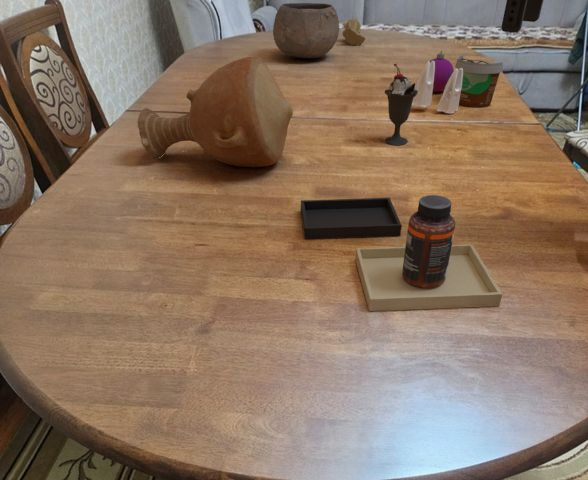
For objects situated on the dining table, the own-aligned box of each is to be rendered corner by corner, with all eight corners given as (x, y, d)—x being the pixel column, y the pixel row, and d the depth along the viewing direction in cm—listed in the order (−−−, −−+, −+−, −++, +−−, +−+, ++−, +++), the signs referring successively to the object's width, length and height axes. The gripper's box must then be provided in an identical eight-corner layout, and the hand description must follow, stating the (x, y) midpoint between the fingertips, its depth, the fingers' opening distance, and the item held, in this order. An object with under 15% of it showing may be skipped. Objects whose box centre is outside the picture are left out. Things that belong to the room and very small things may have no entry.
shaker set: (407, 112, 133) (413, 62, 126) (408, 107, 136) (414, 58, 129) (457, 115, 131) (466, 64, 124) (457, 110, 134) (466, 60, 127)
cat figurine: (345, 27, 186) (343, 10, 192) (338, 47, 191) (336, 30, 198) (367, 34, 188) (365, 17, 194) (360, 54, 193) (357, 37, 200)
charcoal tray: (388, 208, 93) (389, 197, 92) (400, 236, 85) (401, 225, 84) (300, 210, 93) (300, 200, 91) (304, 239, 85) (304, 228, 84)
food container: (439, 101, 140) (446, 58, 133) (454, 96, 143) (461, 54, 136) (480, 112, 133) (489, 67, 126) (495, 107, 136) (504, 62, 129)
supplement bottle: (453, 278, 75) (470, 201, 68) (428, 295, 72) (442, 216, 65) (418, 262, 79) (429, 187, 71) (392, 278, 75) (402, 201, 68)
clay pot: (269, 52, 184) (267, 0, 175) (329, 49, 187) (331, -3, 178) (279, 67, 169) (278, 11, 159) (345, 64, 171) (347, 8, 162)
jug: (278, 126, 90) (112, 140, 96) (300, 186, 108) (159, 194, 114) (285, 25, 94) (126, 44, 101) (305, 99, 112) (169, 111, 119)
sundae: (378, 136, 120) (385, 60, 111) (409, 136, 120) (418, 60, 111) (381, 146, 115) (388, 69, 106) (413, 146, 115) (423, 68, 106)
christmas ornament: (422, 86, 151) (427, 45, 144) (452, 88, 149) (459, 47, 142) (417, 94, 145) (422, 52, 138) (448, 96, 143) (455, 54, 136)
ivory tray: (469, 255, 81) (472, 243, 80) (499, 306, 71) (502, 294, 70) (355, 259, 80) (356, 247, 79) (369, 311, 70) (370, 299, 69)
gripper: (581, -151, 53) (535, 39, 63) (607, -145, 62) (563, 20, 72) (504, -148, 56) (472, 33, 66) (539, -143, 65) (507, 15, 75)
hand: (520, 26), depth 69 cm, fingers open, 8 cm apart
